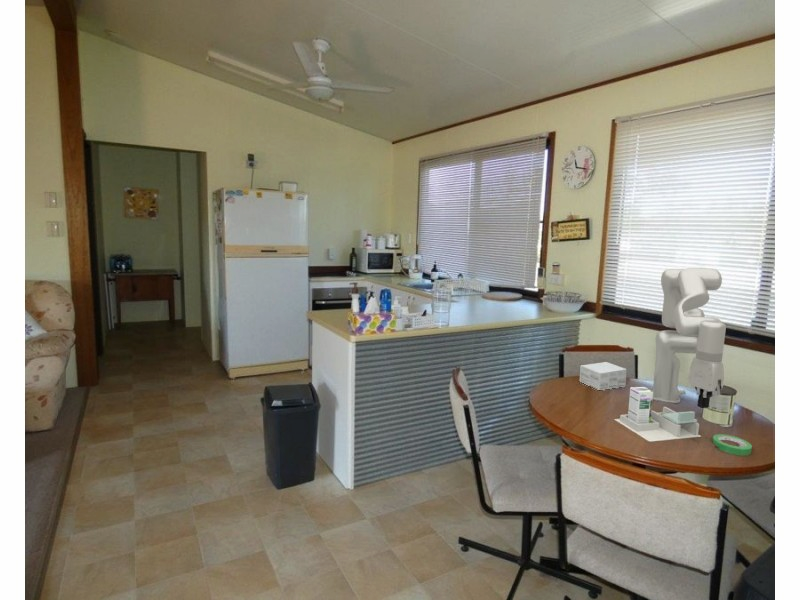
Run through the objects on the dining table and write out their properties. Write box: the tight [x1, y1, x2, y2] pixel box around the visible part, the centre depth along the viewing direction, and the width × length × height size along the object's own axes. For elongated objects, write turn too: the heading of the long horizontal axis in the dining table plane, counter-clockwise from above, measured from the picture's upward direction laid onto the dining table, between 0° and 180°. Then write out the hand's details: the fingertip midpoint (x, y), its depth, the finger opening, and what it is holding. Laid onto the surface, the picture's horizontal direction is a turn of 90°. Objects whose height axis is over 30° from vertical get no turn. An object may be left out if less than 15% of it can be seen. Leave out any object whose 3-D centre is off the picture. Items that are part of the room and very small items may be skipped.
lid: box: [662, 410, 698, 424], centre depth 166 cm, size 9×7×4 cm
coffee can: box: [701, 384, 738, 428], centre depth 177 cm, size 10×10×14 cm
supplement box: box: [579, 361, 628, 391], centre depth 219 cm, size 17×13×9 cm
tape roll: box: [711, 433, 753, 456], centre depth 157 cm, size 11×11×3 cm
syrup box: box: [627, 386, 654, 424], centre depth 171 cm, size 6×6×14 cm
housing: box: [613, 406, 702, 442], centre depth 170 cm, size 22×19×6 cm
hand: (702, 407), depth 156 cm, fingers closed
